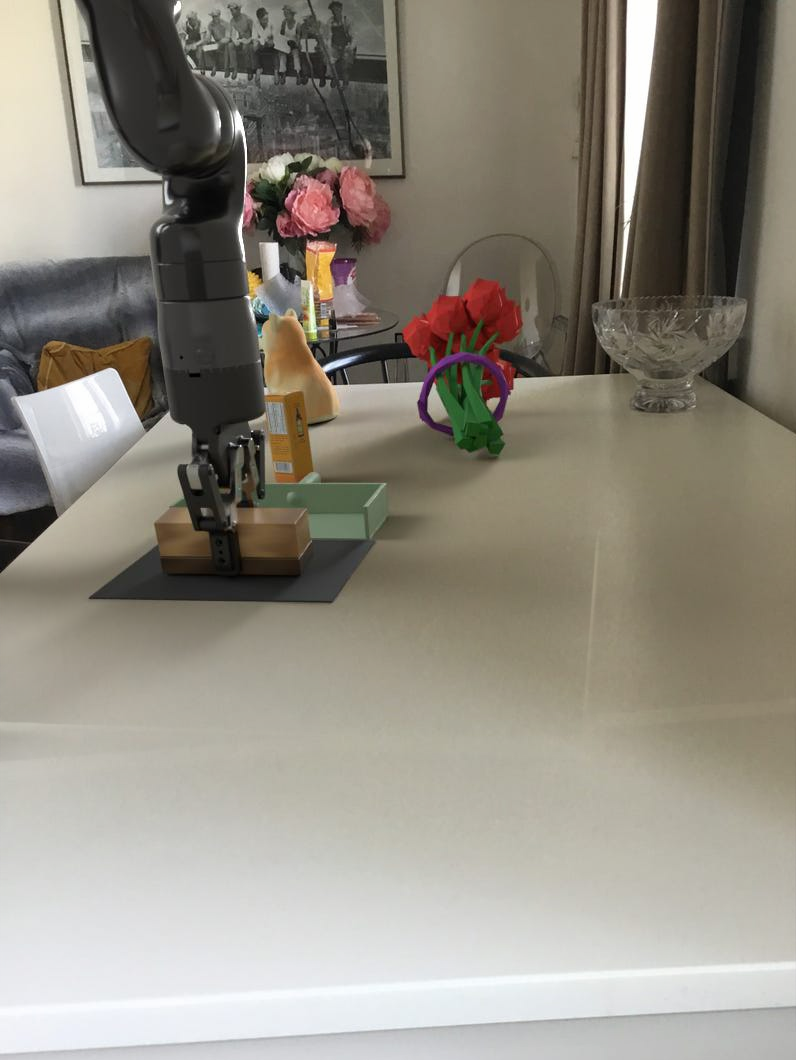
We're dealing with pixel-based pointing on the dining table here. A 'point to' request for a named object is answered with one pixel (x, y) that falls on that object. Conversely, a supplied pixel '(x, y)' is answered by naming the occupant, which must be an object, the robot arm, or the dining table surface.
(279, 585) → the mat
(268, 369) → the figurine
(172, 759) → the dining table surface
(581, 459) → the dining table surface
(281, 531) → the brush
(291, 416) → the supplement box
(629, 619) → the dining table surface
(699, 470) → the dining table surface
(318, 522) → the dustpan
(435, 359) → the bouquet
